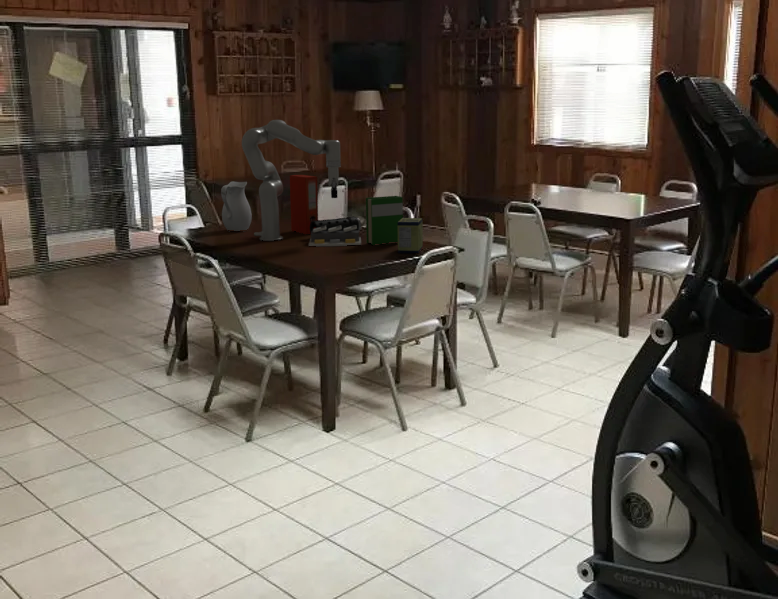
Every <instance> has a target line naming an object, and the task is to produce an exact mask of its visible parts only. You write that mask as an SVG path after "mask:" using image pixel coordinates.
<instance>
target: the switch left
mask: <svg viewBox="0 0 778 599" xmlns="http://www.w3.org/2000/svg"><path fill="white" fill-rule="evenodd" d="M322 230H326V226H322V227H319V228H315V229H313V232H314V233H315V232H318V231H322Z"/></svg>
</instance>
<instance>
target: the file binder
mask: <svg viewBox="0 0 778 599" xmlns="http://www.w3.org/2000/svg"><path fill="white" fill-rule="evenodd" d="M289 189H290V190H289V192H290V193H289V197H290V201H289V202H290V226H291V230H292V231H291V230H290V231H291V232H294V231H296V232H295V233H298V232H299V233H298V234H302V233H303V234H302V235H306V234H310V235H311V233H310V223H311V222H312V221H317V220H318V221H319V204H318V203H319V202H318V200H319V196H318V194H319V193H318V192H319V191H318V176H313V175H306V174H292V175H289ZM315 228H316V227H314V229H315Z"/></svg>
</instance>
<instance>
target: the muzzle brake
mask: <svg viewBox="0 0 778 599" xmlns="http://www.w3.org/2000/svg"><path fill="white" fill-rule="evenodd" d="M340 225H341V227H342V229H340V230H337V231H344V228H347V227H351V226H354V225H356V226H357V229H354V230H352V231H358V230H359V232H360V231H361V229H362V222H361V219H360V218H359V217H358V216H346V217H341V218H340V217H339V218H338V217H337V218H330V219H322V220H321V219H320V220H319V219H318V220H317V221H312V222H311V223H310V233H311V232H312V231H313V229H314V227H316V228H319V227H322V226H326V230H322V231H328V229H329V228H333V227H336V226H340Z"/></svg>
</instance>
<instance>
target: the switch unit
mask: <svg viewBox="0 0 778 599" xmlns="http://www.w3.org/2000/svg"><path fill="white" fill-rule="evenodd" d="M347 245H361V246H362V238H361V236H360V231H359V230H358V231H352V230H351V231H347V232H344V231H337V230H336V231H333V232H329V231H318V232H315V233H314V232H313V231H312V232H311V234H310V239H309V242H308V247H309V246H316V247H348V246H347Z"/></svg>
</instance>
